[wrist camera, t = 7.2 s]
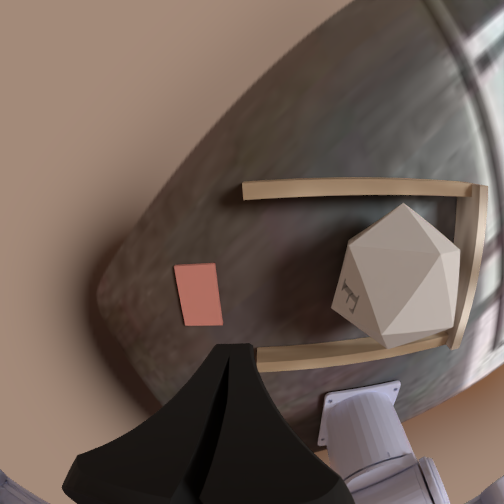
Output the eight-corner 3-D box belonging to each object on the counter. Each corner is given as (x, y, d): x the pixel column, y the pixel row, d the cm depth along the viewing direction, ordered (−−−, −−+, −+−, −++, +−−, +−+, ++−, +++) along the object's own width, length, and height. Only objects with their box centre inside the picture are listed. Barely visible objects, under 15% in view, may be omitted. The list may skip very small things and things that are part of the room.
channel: (443, 331, 21) (458, 347, 19) (257, 356, 22) (257, 380, 19) (465, 182, 17) (488, 186, 14) (243, 181, 18) (240, 184, 15)
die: (368, 176, 18) (321, 240, 12) (474, 217, 15) (490, 310, 8) (347, 263, 23) (298, 345, 17) (434, 299, 20) (415, 396, 13)
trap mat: (223, 323, 21) (222, 325, 21) (186, 323, 22) (185, 325, 21) (215, 262, 20) (214, 264, 20) (175, 265, 20) (174, 266, 20)
